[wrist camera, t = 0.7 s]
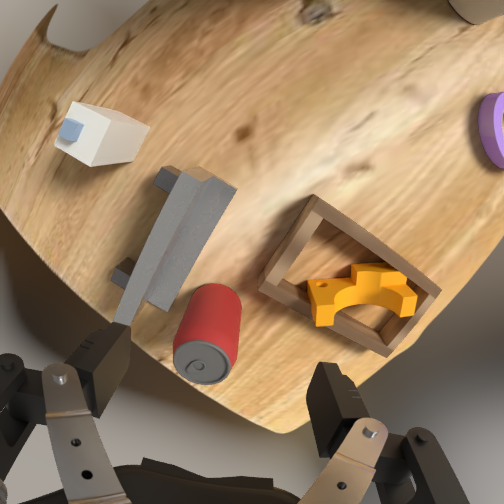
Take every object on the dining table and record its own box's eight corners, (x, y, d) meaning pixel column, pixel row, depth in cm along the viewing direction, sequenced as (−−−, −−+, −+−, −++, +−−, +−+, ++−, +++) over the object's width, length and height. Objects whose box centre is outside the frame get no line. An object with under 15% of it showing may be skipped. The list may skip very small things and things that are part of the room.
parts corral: (313, 193, 33) (319, 198, 29) (429, 279, 36) (442, 289, 33) (257, 277, 36) (257, 290, 33) (378, 343, 39) (386, 358, 36)
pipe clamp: (397, 261, 35) (420, 281, 29) (393, 291, 36) (413, 315, 30) (307, 266, 35) (317, 290, 29) (307, 298, 37) (315, 326, 31)
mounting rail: (177, 153, 32) (153, 154, 24) (237, 188, 33) (232, 199, 25) (118, 278, 37) (90, 306, 29) (169, 308, 38) (151, 343, 30)
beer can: (180, 300, 37) (153, 357, 26) (218, 271, 36) (202, 324, 25) (214, 334, 39) (200, 397, 28) (252, 308, 38) (250, 371, 26)
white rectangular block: (118, 111, 30) (65, 99, 19) (150, 127, 30) (105, 119, 20) (101, 144, 31) (46, 146, 20) (132, 162, 32) (82, 168, 21)
